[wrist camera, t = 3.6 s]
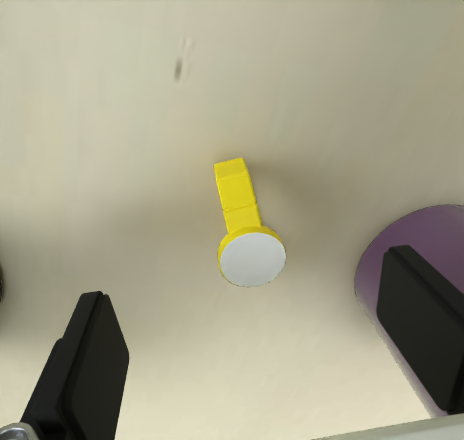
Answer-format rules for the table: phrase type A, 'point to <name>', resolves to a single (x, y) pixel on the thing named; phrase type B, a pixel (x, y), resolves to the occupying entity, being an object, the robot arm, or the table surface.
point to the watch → (245, 231)
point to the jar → (433, 251)
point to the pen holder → (0, 289)
